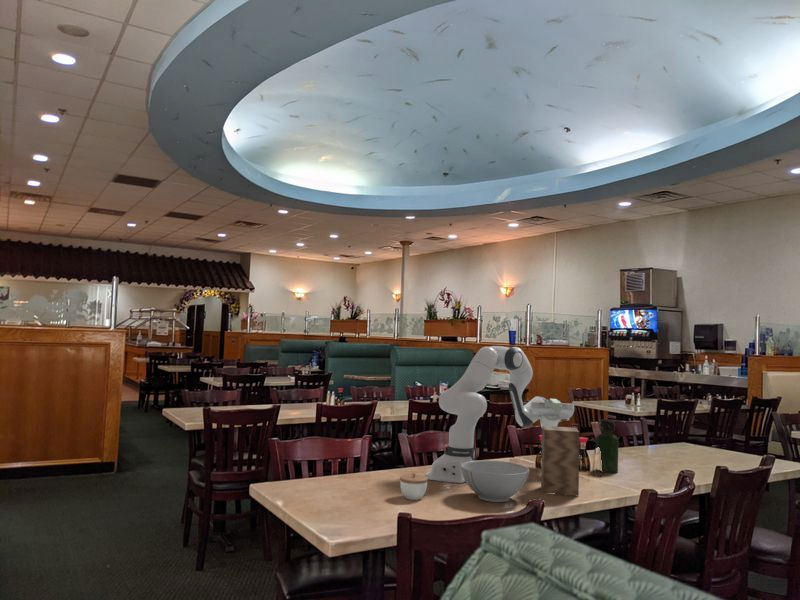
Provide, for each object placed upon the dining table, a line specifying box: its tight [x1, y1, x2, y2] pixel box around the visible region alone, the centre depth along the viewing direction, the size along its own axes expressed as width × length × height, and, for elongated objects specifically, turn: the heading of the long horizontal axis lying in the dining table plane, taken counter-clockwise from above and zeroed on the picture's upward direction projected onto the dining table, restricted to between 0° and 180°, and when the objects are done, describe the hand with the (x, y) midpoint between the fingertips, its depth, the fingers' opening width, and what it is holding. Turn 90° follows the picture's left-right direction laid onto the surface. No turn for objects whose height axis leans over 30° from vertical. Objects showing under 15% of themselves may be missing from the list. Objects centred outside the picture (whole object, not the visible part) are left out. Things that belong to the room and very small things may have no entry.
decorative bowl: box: [461, 460, 530, 503], centre depth 241 cm, size 27×27×12 cm
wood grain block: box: [540, 426, 580, 496], centre depth 256 cm, size 14×12×26 cm
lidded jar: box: [399, 472, 429, 501], centre depth 237 cm, size 11×11×9 cm
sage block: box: [549, 398, 562, 412], centre depth 282 cm, size 3×21×4 cm, turn 171°
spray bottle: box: [595, 418, 619, 474], centre depth 302 cm, size 10×10×25 cm
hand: (553, 401), depth 288 cm, fingers closed on sage block, 3 cm apart
